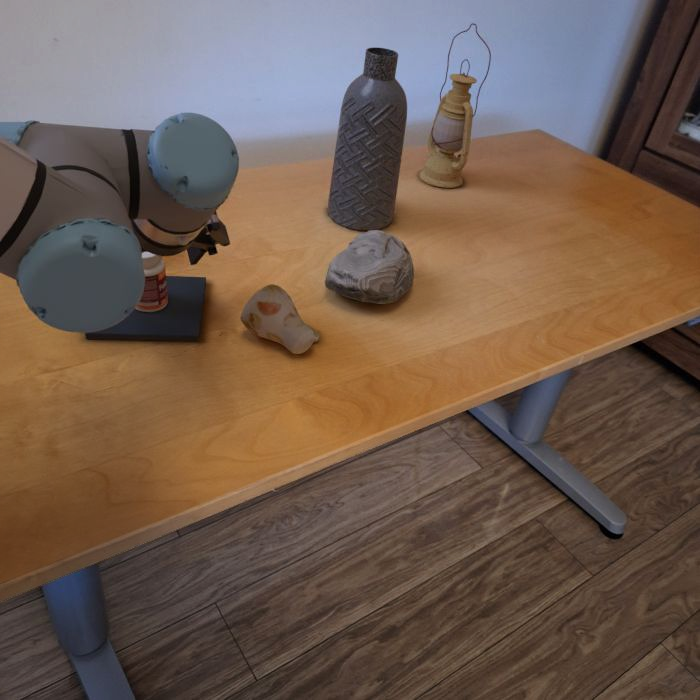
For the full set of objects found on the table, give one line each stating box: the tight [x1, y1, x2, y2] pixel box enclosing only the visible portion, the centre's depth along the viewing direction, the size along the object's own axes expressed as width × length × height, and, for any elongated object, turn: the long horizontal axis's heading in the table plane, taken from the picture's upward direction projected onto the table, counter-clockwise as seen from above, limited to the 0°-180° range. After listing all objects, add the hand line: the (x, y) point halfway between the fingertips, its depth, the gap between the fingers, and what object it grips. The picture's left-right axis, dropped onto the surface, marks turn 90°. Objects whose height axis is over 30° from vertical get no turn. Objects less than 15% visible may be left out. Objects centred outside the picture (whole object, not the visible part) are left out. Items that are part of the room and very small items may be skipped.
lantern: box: [419, 22, 492, 189], centre depth 122 cm, size 12×10×30 cm
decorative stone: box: [324, 229, 415, 305], centre depth 93 cm, size 15×14×10 cm
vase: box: [327, 47, 408, 231], centre depth 105 cm, size 12×12×28 cm
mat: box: [84, 275, 207, 343], centre depth 85 cm, size 14×14×1 cm
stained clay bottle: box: [240, 283, 320, 355], centre depth 82 cm, size 8×10×10 cm
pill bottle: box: [135, 252, 168, 312], centre depth 82 cm, size 5×5×8 cm
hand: (141, 264), depth 83 cm, fingers open, 13 cm apart
